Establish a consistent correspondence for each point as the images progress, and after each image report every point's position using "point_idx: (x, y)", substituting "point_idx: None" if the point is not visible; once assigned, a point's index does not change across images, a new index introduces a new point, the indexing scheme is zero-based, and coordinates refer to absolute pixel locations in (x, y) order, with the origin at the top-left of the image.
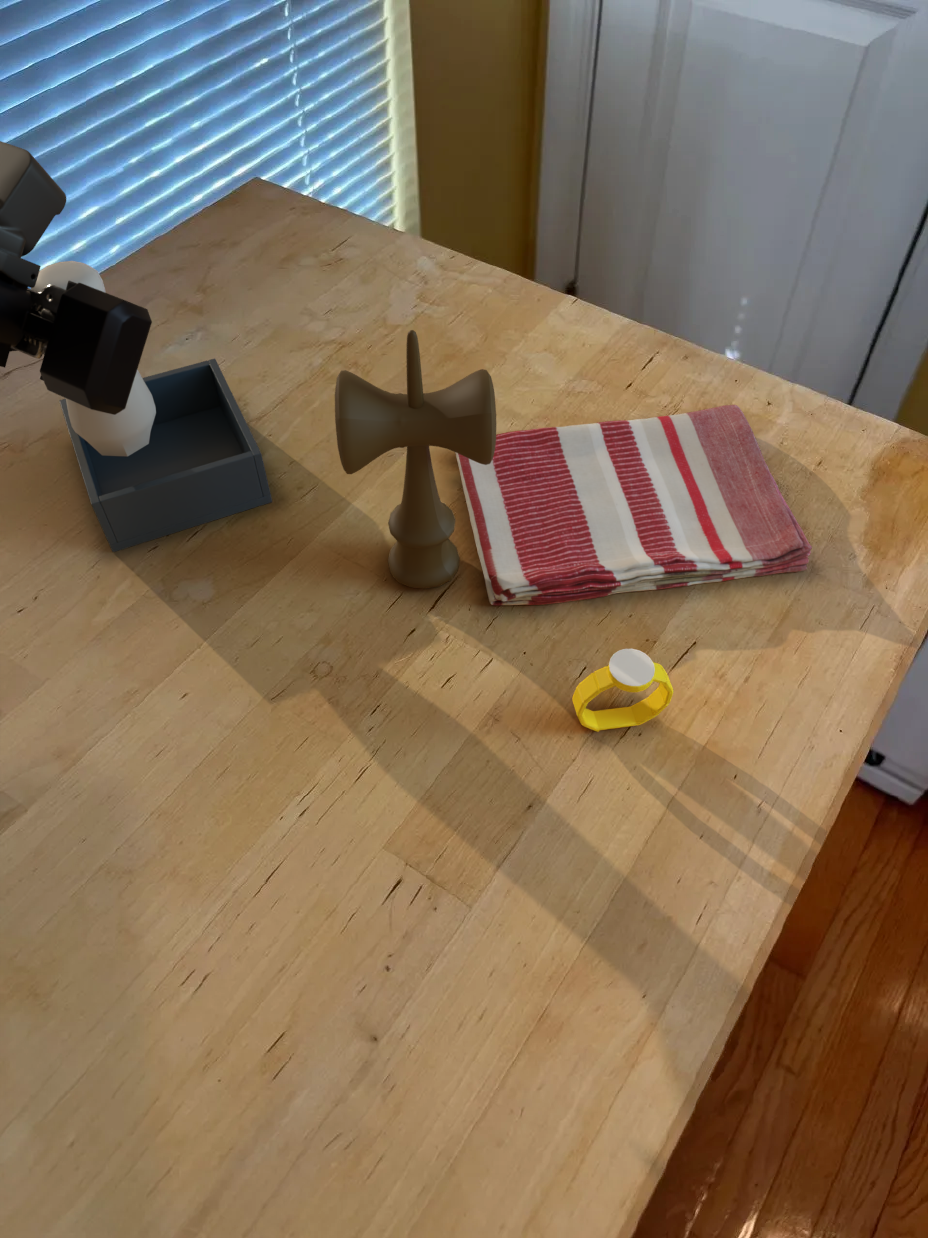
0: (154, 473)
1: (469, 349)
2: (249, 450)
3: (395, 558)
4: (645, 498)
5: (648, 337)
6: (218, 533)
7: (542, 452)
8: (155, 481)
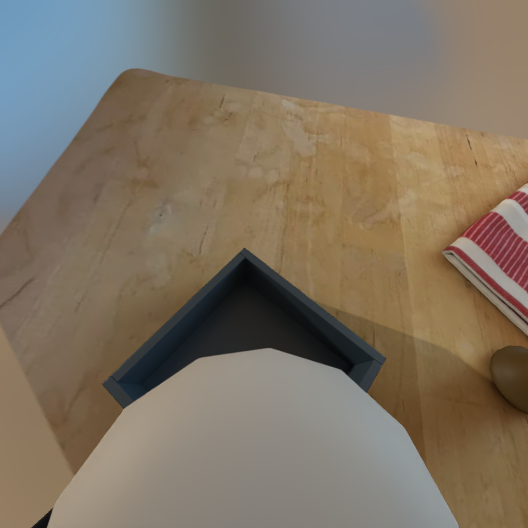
0: None
1: (369, 162)
2: (360, 352)
3: (523, 397)
4: None
5: (453, 126)
6: None
7: (505, 236)
8: None
